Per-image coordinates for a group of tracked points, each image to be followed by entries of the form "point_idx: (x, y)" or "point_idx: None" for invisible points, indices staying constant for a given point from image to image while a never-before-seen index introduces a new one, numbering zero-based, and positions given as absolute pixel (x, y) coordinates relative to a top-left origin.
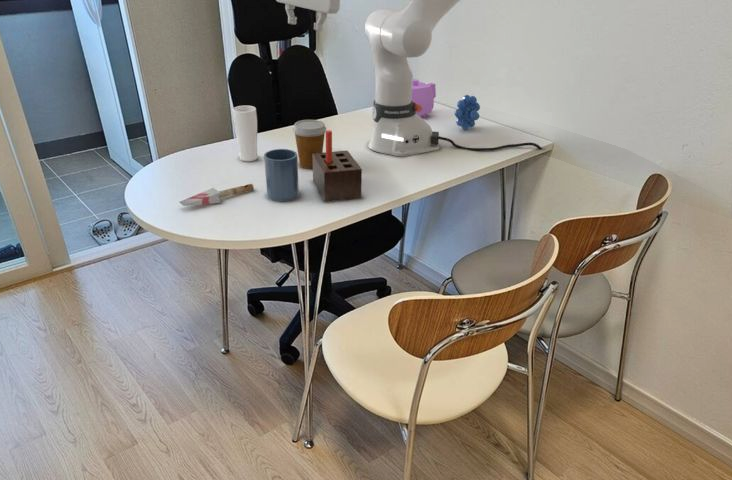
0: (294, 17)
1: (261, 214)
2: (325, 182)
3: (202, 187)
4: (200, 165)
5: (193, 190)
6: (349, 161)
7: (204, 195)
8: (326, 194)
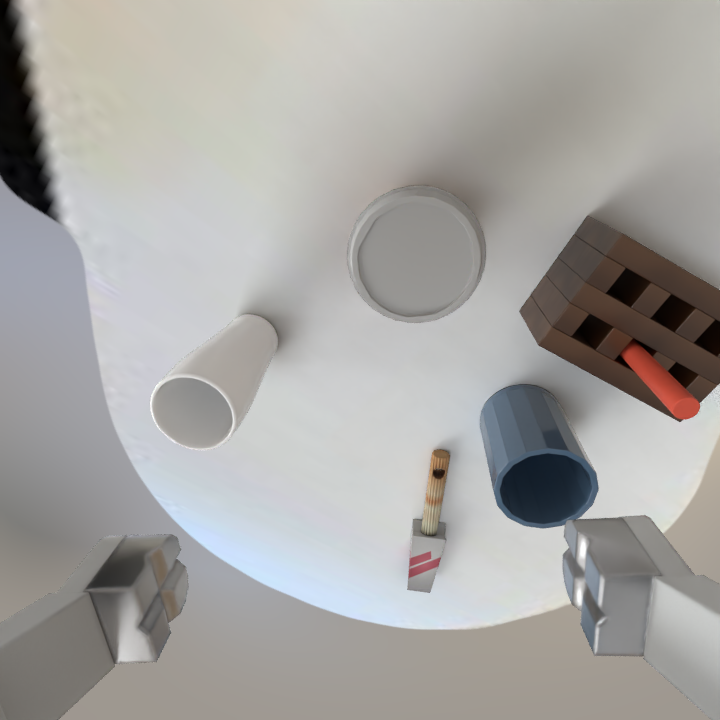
0: (141, 619)
1: None
2: None
3: (346, 506)
4: None
5: (348, 524)
6: (698, 307)
7: (427, 558)
8: None
